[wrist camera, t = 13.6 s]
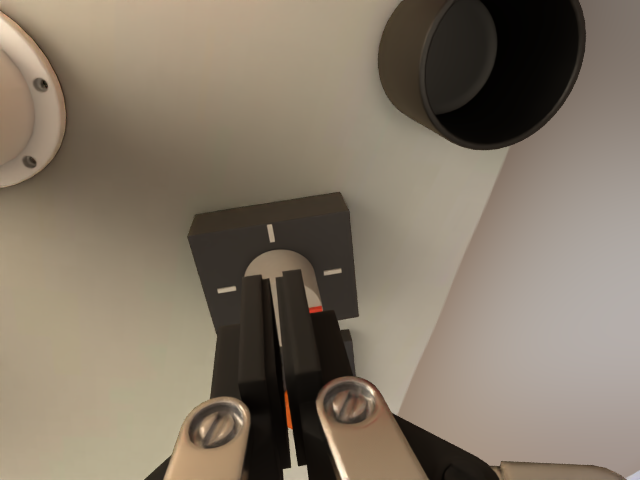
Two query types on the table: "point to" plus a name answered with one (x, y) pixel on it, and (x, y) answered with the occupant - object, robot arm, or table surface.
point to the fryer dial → (273, 266)
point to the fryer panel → (273, 234)
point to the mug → (482, 65)
